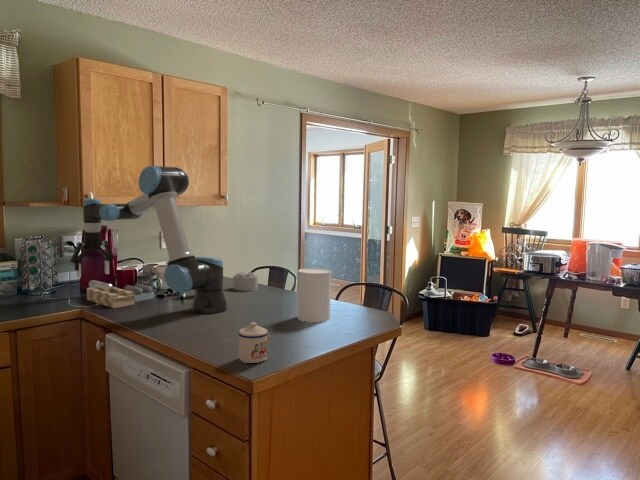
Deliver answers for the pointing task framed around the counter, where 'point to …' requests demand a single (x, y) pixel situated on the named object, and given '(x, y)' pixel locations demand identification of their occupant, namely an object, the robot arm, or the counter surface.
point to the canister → (314, 294)
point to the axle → (101, 286)
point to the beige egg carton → (111, 297)
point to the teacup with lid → (253, 343)
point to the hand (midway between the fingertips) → (93, 275)
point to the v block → (141, 292)
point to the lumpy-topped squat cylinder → (245, 282)
